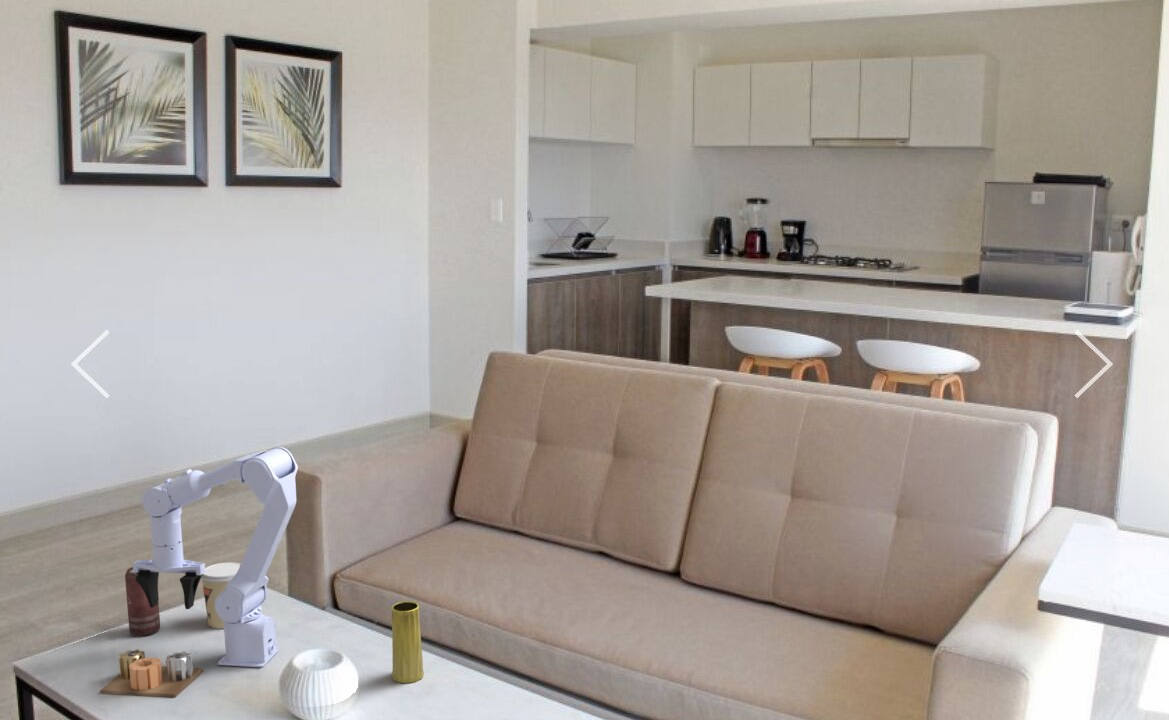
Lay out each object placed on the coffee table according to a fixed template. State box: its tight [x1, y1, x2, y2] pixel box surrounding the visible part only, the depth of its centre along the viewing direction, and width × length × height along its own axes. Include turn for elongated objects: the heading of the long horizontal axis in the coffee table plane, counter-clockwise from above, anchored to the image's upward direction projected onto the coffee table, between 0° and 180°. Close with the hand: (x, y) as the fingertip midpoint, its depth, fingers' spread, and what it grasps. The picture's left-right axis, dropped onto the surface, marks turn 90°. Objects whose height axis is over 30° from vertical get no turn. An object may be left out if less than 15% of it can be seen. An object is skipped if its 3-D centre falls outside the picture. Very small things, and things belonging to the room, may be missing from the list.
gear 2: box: [165, 650, 194, 682], centre depth 207 cm, size 5×5×4 cm
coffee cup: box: [201, 561, 241, 630], centre depth 234 cm, size 9×9×12 cm
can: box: [124, 566, 161, 637], centre depth 229 cm, size 6×6×14 cm
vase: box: [391, 600, 425, 684], centre depth 207 cm, size 6×6×14 cm
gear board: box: [99, 665, 205, 698], centre depth 206 cm, size 15×11×4 cm
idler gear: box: [129, 656, 163, 690], centre depth 204 cm, size 5×5×4 cm
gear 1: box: [118, 649, 146, 679], centre depth 208 cm, size 5×5×4 cm
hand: (171, 606), depth 219 cm, fingers open, 7 cm apart
